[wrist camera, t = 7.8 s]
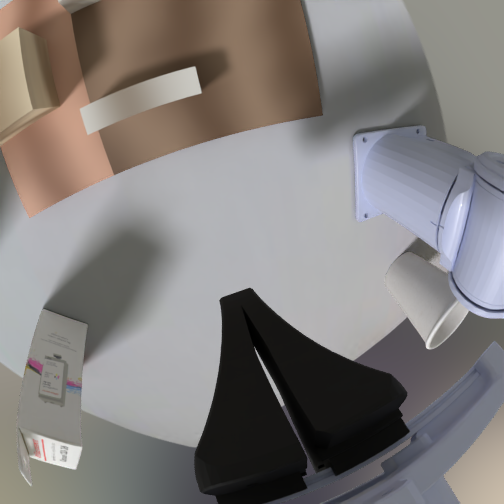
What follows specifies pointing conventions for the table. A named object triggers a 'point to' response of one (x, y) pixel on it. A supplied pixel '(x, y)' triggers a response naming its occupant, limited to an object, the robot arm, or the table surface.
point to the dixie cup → (425, 297)
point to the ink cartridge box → (52, 394)
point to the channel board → (153, 83)
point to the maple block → (24, 82)
